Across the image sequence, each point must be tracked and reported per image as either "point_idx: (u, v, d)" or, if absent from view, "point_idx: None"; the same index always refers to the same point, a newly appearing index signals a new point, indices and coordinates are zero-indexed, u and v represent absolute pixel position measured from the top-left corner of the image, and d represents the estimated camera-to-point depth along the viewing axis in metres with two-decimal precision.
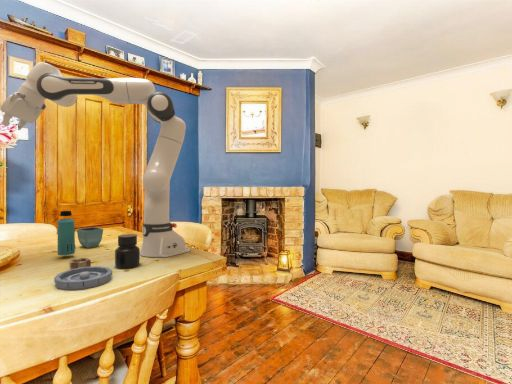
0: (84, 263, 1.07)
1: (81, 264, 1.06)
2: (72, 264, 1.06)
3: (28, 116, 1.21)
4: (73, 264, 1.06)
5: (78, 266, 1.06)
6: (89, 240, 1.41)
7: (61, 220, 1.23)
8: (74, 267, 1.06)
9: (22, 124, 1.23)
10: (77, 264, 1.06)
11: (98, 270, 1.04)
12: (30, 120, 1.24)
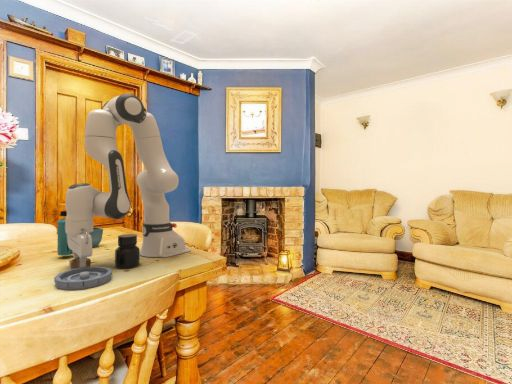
0: None
1: None
2: (72, 264, 1.06)
3: None
4: (73, 264, 1.06)
5: (78, 266, 1.06)
6: None
7: (61, 220, 1.23)
8: (74, 267, 1.06)
9: (78, 254, 1.12)
10: (77, 264, 1.06)
11: (98, 270, 1.04)
12: None
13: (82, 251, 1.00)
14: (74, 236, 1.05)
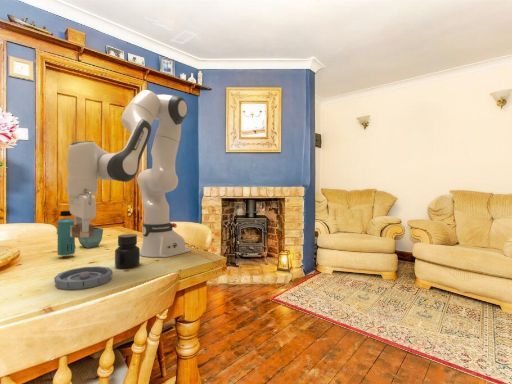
0: None
1: None
2: (73, 228, 0.95)
3: None
4: (74, 228, 0.95)
5: (80, 231, 0.96)
6: (89, 240, 1.41)
7: (61, 220, 1.23)
8: (75, 232, 0.95)
9: (80, 220, 1.02)
10: (79, 228, 0.95)
11: (98, 270, 1.04)
12: None
13: (85, 212, 0.90)
14: (76, 197, 0.95)
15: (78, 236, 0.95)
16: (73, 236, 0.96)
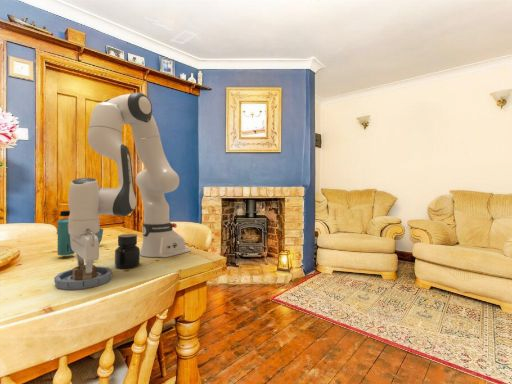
0: None
1: None
2: (76, 272, 0.94)
3: None
4: (77, 272, 0.94)
5: (83, 274, 0.94)
6: None
7: (61, 220, 1.23)
8: (78, 275, 0.94)
9: None
10: (81, 272, 0.94)
11: (98, 270, 1.04)
12: None
13: (88, 254, 0.89)
14: (78, 237, 0.93)
15: None
16: (76, 280, 0.94)
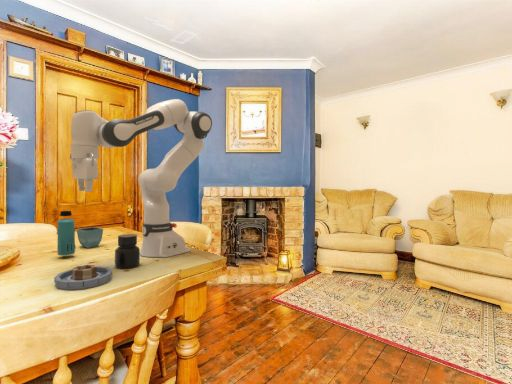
0: (89, 271, 0.95)
1: (86, 272, 0.94)
2: (76, 272, 0.94)
3: None
4: (77, 272, 0.94)
5: (83, 274, 0.94)
6: (89, 240, 1.41)
7: (61, 220, 1.23)
8: (78, 275, 0.94)
9: (82, 183, 1.14)
10: (81, 272, 0.94)
11: (98, 270, 1.04)
12: None
13: (88, 172, 1.01)
14: (80, 161, 1.06)
15: None
16: (76, 280, 0.94)
